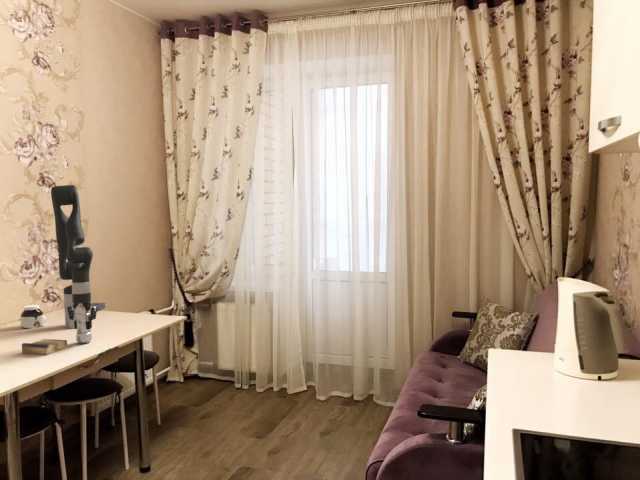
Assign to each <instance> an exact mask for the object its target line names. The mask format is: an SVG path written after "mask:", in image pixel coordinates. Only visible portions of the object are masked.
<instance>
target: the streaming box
mask: <svg viewBox="0 0 640 480" xmlns="http://www.w3.org/2000/svg"><path fill="white" fill-rule="evenodd" d="M90 304H91V306H93V307H95V306H97V312H100V311H102V310H104V309H105V308H106V303H105V302H90ZM90 310H91V309H90ZM90 312H91V311H90Z"/></svg>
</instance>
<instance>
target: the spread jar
mask: <svg viewBox="0 0 640 480" xmlns="http://www.w3.org/2000/svg"><path fill="white" fill-rule="evenodd" d="M46 319H47V317H46V316H45V315H44V312H43V311H42V310H41V309H40V305H39V304H29V305H28V304H27V305H25V306H23V311H22V312H21V313H20V326H21V328H22V329H23V328H24V330H28V329H29V330H30V329H36V328H37V329H38V328H41V327H43V326H44V324H45V322H46Z"/></svg>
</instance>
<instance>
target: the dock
mask: <svg viewBox="0 0 640 480" xmlns="http://www.w3.org/2000/svg"><path fill="white" fill-rule="evenodd" d="M66 348H68V340H67V339H55V338H53V339H50V338H42V339H39V340H38V341H33V342H31V343H27V342H23V343H21V354H23V355H38V356H39V355H41V356H42V355H43V356H48V355H50V354H53V353H56V352H58V351H60V350H63V349H66Z"/></svg>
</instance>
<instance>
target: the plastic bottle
mask: <svg viewBox="0 0 640 480" xmlns="http://www.w3.org/2000/svg"><path fill="white" fill-rule="evenodd" d="M82 304H83V303H81V304H78V306H77V308H76V309H75V316H76V322H77V329H76V334H75V340H76V342H77V343H78V344H86V343H90V342H91V341H92V338H93V333H92V331H91V329H92V328H91V329H89V330H87V325H86V322H87V321H86V317H85V313H86V314H90V310H88V311H86V309H85V307H84V306H83V305H82ZM81 307H83V309H82V308H81ZM88 317H89V316H88Z"/></svg>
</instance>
